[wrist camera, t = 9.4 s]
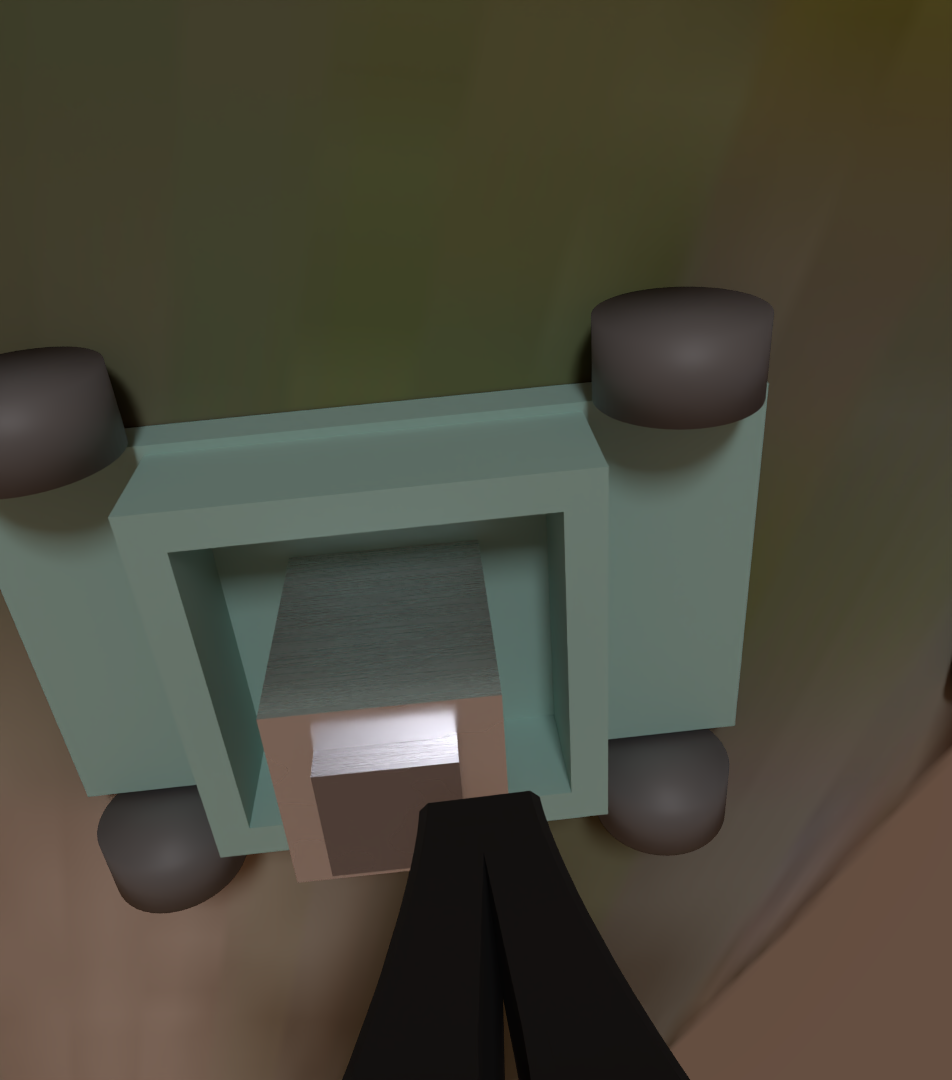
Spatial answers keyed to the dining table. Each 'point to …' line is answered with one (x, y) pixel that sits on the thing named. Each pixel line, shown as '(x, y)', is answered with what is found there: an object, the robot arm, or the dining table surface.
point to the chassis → (390, 522)
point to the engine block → (379, 702)
